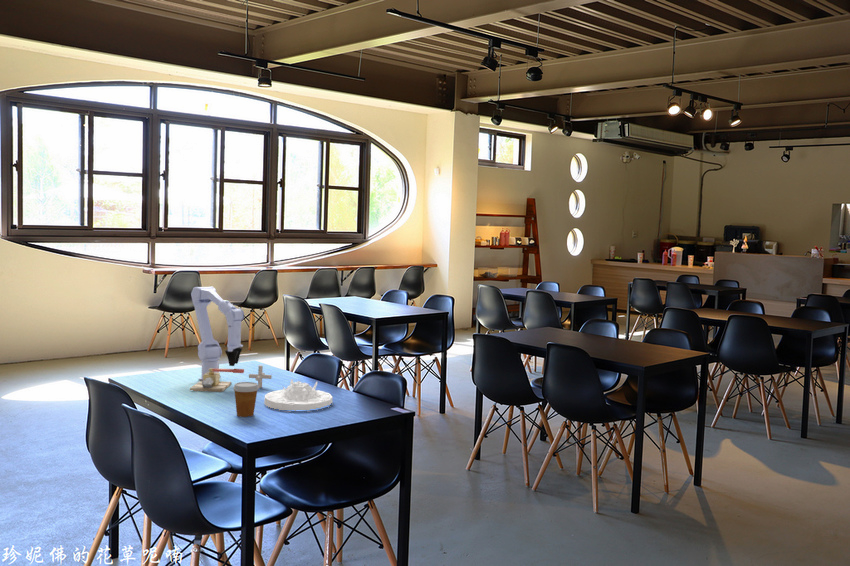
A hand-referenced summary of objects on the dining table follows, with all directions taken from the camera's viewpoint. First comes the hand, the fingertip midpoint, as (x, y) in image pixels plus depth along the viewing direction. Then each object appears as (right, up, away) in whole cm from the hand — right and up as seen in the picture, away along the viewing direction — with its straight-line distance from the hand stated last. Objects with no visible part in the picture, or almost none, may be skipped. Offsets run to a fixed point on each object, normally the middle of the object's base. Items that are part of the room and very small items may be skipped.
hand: (233, 364), depth 324 cm
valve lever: (-2, -3, -7) cm, 7 cm away
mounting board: (-8, -10, -7) cm, 14 cm away
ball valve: (-8, -10, -7) cm, 14 cm away
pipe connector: (+13, -10, -2) cm, 16 cm away
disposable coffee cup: (+18, -14, -51) cm, 56 cm away
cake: (+35, -14, -29) cm, 47 cm away
